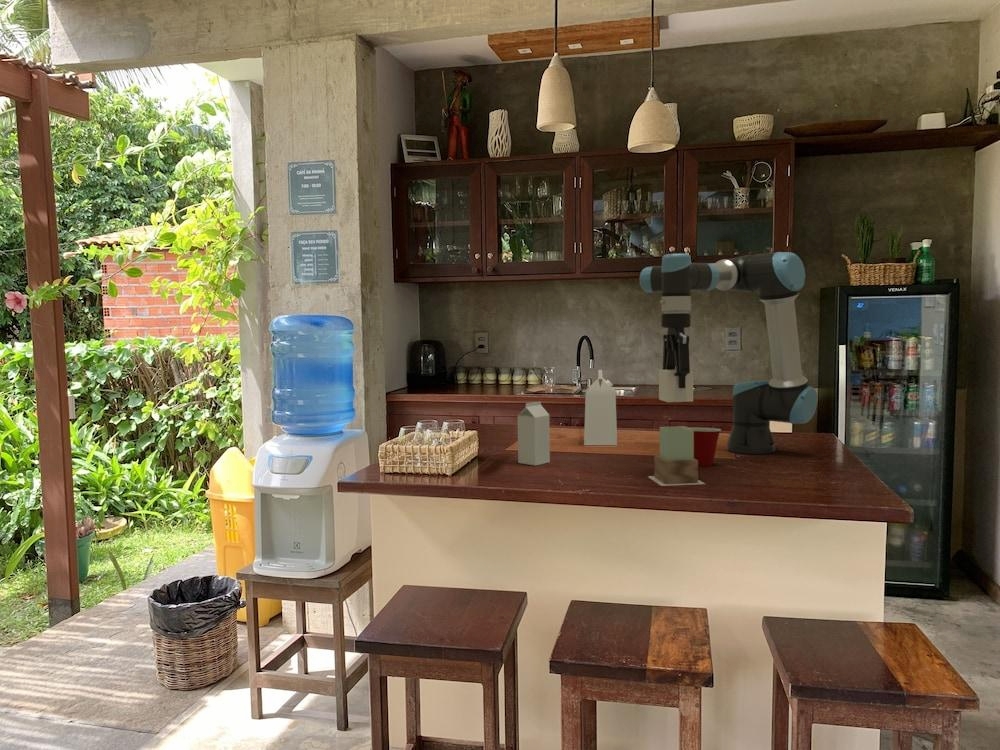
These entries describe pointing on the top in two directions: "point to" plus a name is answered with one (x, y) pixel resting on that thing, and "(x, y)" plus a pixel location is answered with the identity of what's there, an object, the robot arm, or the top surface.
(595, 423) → the milk
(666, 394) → the cream brick
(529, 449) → the milk carton
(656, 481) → the plate
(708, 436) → the plastic cup
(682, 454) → the sage brick
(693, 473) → the walnut base brick
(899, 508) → the top surface
